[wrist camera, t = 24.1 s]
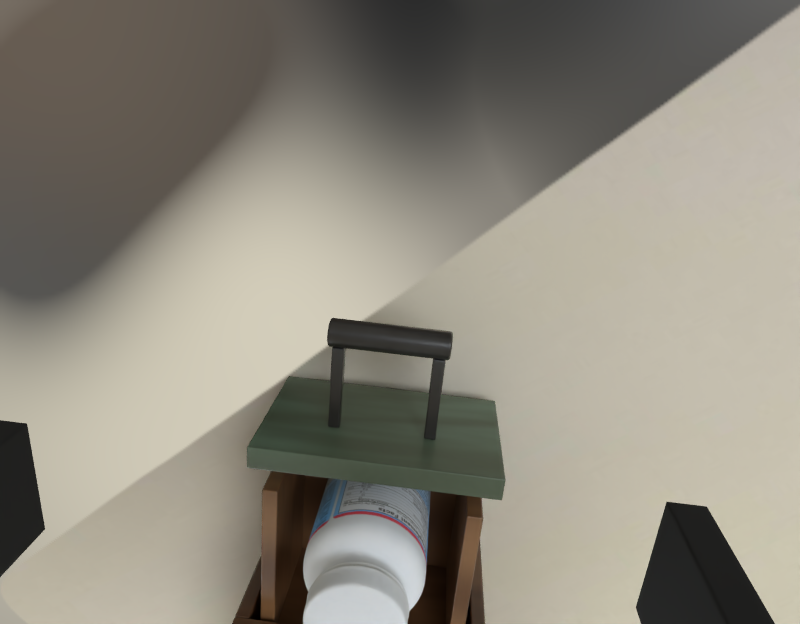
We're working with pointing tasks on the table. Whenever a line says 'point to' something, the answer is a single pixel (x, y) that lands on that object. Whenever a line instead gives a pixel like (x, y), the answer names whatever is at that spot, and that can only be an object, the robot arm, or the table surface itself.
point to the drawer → (377, 466)
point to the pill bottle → (366, 554)
